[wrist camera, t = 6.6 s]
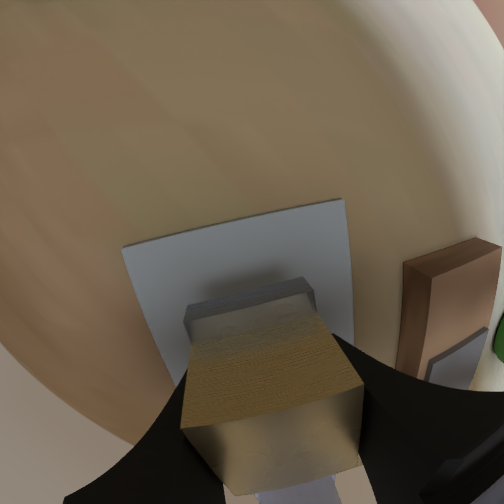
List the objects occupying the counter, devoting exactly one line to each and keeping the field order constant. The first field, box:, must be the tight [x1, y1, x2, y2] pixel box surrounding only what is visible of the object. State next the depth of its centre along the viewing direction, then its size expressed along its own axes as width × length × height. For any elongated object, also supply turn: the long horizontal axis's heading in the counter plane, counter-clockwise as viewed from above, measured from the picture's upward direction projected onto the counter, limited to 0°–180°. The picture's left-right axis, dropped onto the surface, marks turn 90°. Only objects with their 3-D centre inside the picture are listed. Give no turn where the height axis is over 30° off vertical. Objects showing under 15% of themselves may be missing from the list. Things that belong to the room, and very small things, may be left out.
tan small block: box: [180, 276, 364, 496], centre depth 8 cm, size 6×4×5 cm, turn 13°
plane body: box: [395, 238, 502, 390], centre depth 14 cm, size 18×7×3 cm, turn 12°
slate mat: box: [121, 198, 354, 387], centre depth 13 cm, size 10×10×1 cm
